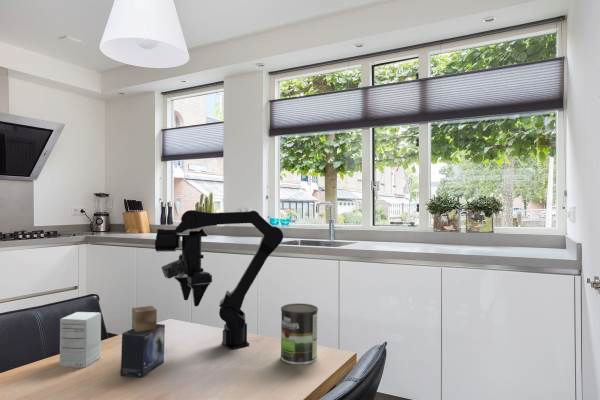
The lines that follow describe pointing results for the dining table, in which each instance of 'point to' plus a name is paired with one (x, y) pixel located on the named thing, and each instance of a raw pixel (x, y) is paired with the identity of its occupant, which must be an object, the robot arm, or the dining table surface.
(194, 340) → the dining table surface
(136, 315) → the walnut cube
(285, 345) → the coffee can
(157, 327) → the small box
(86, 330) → the supplement box
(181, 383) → the dining table surface
